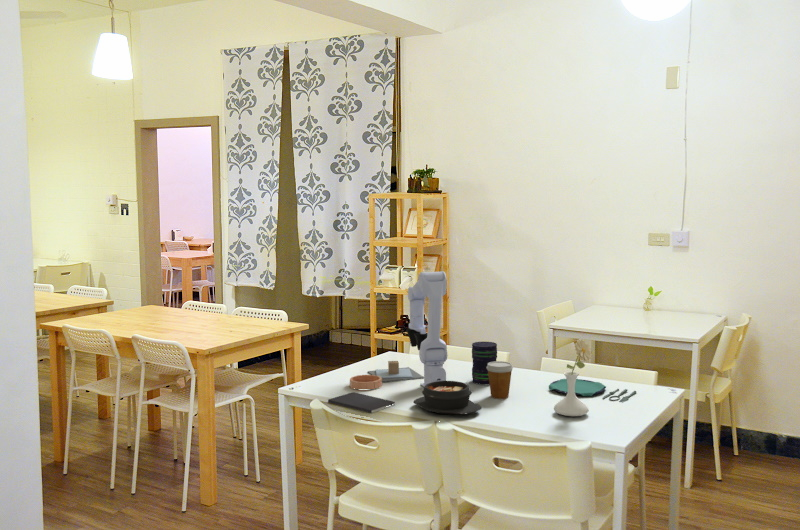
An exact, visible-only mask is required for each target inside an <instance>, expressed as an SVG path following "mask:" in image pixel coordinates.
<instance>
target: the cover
mask: <svg viewBox="0 0 800 530" xmlns="http://www.w3.org/2000/svg"><path fill="white" fill-rule="evenodd" d="M387 362H388V364H387V366H388V367H387V368H383V369H382V368H381V369H379V368H378V369H375V370H376V375H377V376H380V377H381V378H382V379H393V378H412V374H411V372H410V369H409V368H410V367H409V368H406V367H404V368H405V369H399V368H400V365H399V364H400V363H399V361H398V360H388V361H387Z"/></svg>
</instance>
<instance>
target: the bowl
mask: <svg viewBox="0 0 800 530" xmlns="http://www.w3.org/2000/svg"><path fill="white" fill-rule="evenodd" d="M381 386H383V382H382V378H381V377H380V376H376V375H371V374H360V375H359V374H358V375H354V376H351V377H350V378H349V387H350V388H351V387H352V388H355V389H375V388H378V389H380V388H379V387H381ZM352 388H351V389H352ZM381 388H382V387H381ZM355 389H354V390H355ZM375 390H376V389H375Z"/></svg>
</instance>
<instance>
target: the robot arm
mask: <svg viewBox="0 0 800 530" xmlns="http://www.w3.org/2000/svg"><path fill="white" fill-rule="evenodd" d="M447 290H448V278H447V274H446V272H445V271H443V270H441V271H426V272H425V271H421V272H419V274H418V278H417V281H416V282H415V284H413V286H409V287H408V288H407V298H408V300H409V323H408V329H406V330H405V331H406V333H407V335H408V337H409V338H408V339H409V342H410V346H411V348H415V347H417V350H418V351H419V352H418V354H419V360H420V362H421V364H423V375H424V376H423V377H424V378H423V382H422V383H420V386H422V387H423V388H425V385H426V384H428V383H431V382H436V381H447V371H446V369H445V368H444V364H445V362H447V360H448V347H447V343H446V342H445V340H443V339H441V323H442V322H441V319H442V318H441V317H442V316H441V315H442V302H443V297H444V296H445V295H446V294H447ZM426 297H427V298H428V311H427V312H428V314H427V315H428V316H427V325H425V315H424V314H425V310H424V309H425V307H424V306H425V304H426ZM426 328H427V330H426Z"/></svg>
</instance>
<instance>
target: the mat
mask: <svg viewBox="0 0 800 530" xmlns="http://www.w3.org/2000/svg"><path fill="white" fill-rule="evenodd" d="M405 368H409V369H410V372H411V374H412V378H393V379H382V383H388V382H387V381H392V382H400V381H399V380H402V381H411V380H410V379H412V380H420V379H421V378H422V379H424V376H423V375H422V374H420V373H418V372H417V371H416V370H414V369H412V368H410V367H409V366H407V367H399V369H405ZM367 373H368V375H376V369H375V370H368V371H367ZM376 376H377V375H376Z"/></svg>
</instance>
